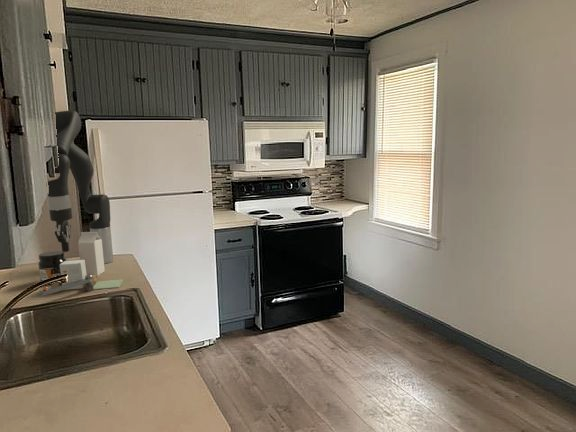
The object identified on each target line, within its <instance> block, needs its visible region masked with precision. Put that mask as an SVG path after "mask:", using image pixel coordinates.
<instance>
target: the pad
mask: <svg viewBox="0 0 576 432" xmlns="http://www.w3.org/2000/svg"><path fill="white" fill-rule="evenodd" d="M122 283H123V279H122V278H121V279H112V280H109V279H108V280H100V281H99V280H97V282H96V284H95V285H94V286H93V289H94V290H95V291H96V290H107V289H116V288H117V289H119V288H120V286H121V285H122ZM94 290H93V291H94Z"/></svg>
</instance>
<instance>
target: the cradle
mask: <svg viewBox="0 0 576 432" xmlns="http://www.w3.org/2000/svg"><path fill="white" fill-rule="evenodd" d="M92 276H93V278H91V279H90V280H91V282H89V283H85V287H84V290H85V291H87V293H88V292H93V291H94V289H93V287H94V285H95V284H96V283H97V282H98V276H96V275H92ZM50 285H51V286H50V288H53V287H57V286H60V285H62V283H60V282H55V283H53V284H50ZM58 293H60V291H58V292H54V293H53V294H58Z"/></svg>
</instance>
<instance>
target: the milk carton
mask: <svg viewBox="0 0 576 432" xmlns="http://www.w3.org/2000/svg"><path fill="white" fill-rule="evenodd" d="M77 246H78V254H79V255H78V256H79V260H85V266H86V274H87V275H96V277H98V276H100V275H101V274H103V273H105V263H104V259H103V248H102V239H101V238H100V237H99V235H98V234H97V232H90V231H81V232H80V237H79V240H78V242H77Z"/></svg>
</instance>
